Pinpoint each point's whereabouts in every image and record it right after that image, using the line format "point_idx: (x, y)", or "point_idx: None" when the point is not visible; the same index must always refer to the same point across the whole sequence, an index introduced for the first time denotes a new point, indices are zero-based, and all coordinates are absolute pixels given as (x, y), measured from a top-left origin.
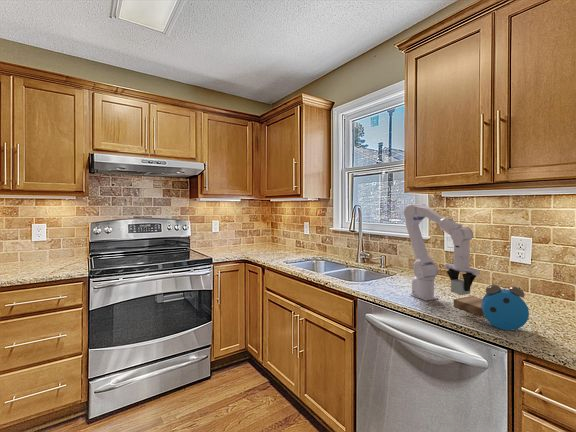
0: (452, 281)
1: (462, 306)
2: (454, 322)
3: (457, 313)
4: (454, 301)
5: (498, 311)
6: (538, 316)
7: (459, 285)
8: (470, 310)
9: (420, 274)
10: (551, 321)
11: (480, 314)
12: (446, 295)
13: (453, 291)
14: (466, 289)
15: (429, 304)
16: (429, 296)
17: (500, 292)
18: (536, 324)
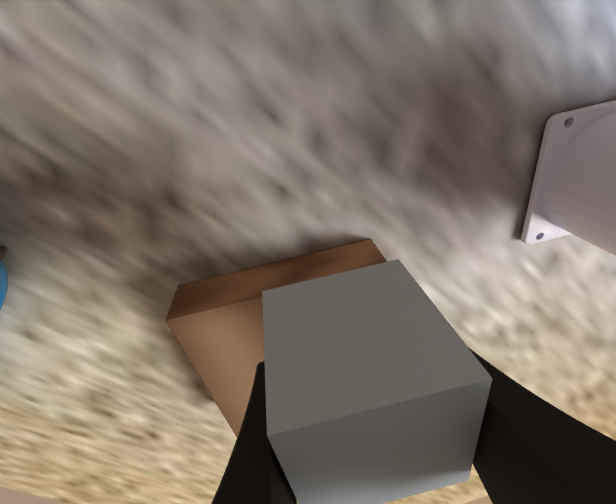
0: (451, 369)
1: (309, 265)
2: None
3: (237, 165)
4: (378, 259)
5: None
6: (163, 471)
7: (305, 371)
8: (249, 274)
9: None
10: (103, 478)
11: (180, 289)
12: (526, 315)
13: (370, 274)
14: (254, 382)
15: (478, 83)
16: (567, 170)
17: None
18: (52, 429)
